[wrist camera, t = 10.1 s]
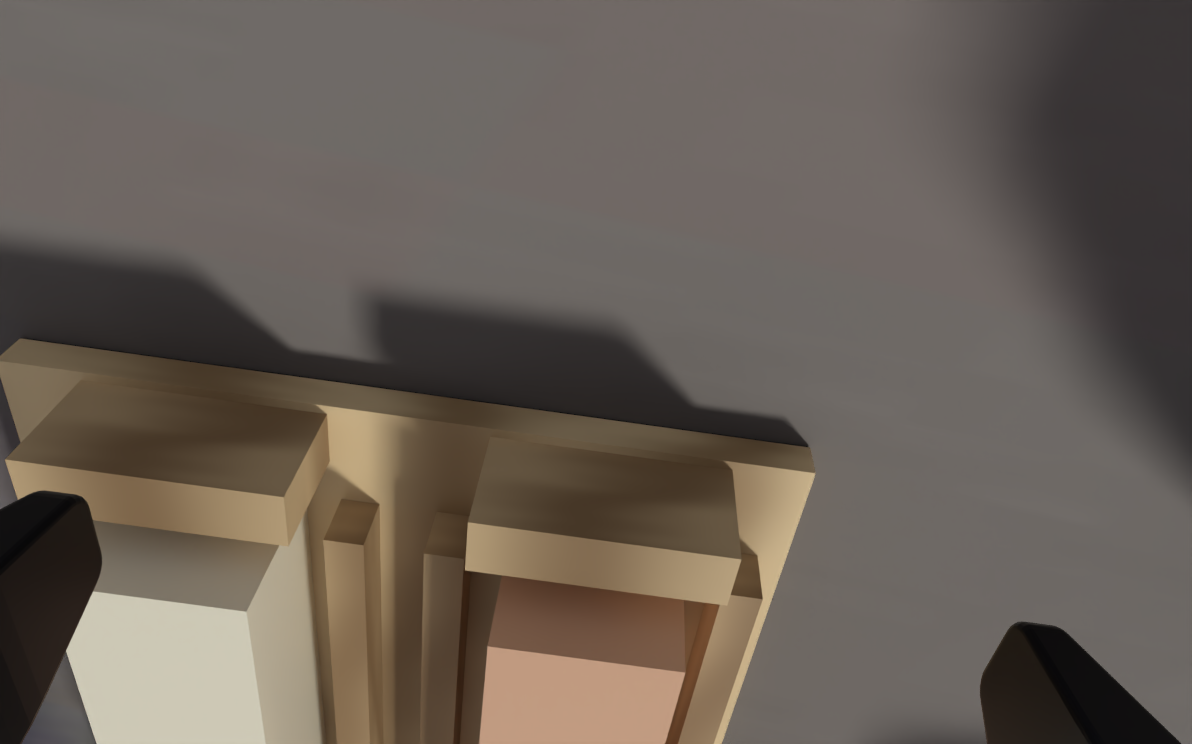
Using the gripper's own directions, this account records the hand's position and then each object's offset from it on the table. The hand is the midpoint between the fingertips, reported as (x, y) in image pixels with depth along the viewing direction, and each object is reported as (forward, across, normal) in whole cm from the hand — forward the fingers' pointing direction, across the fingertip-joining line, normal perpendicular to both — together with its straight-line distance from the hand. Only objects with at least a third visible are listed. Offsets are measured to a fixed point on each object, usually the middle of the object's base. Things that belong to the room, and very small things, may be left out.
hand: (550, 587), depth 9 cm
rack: (+12, +4, +18) cm, 22 cm away
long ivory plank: (+11, +9, +18) cm, 23 cm away
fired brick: (+11, -1, +18) cm, 21 cm away
